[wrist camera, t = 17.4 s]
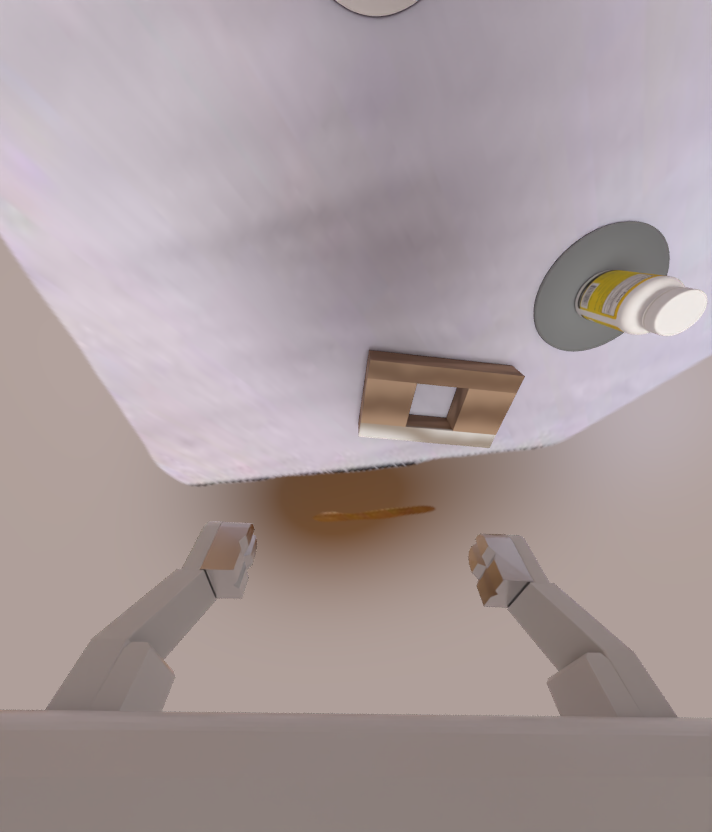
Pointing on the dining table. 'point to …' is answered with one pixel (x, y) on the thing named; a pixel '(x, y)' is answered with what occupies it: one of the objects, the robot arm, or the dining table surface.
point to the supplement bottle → (640, 302)
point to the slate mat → (580, 262)
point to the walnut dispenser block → (476, 385)
